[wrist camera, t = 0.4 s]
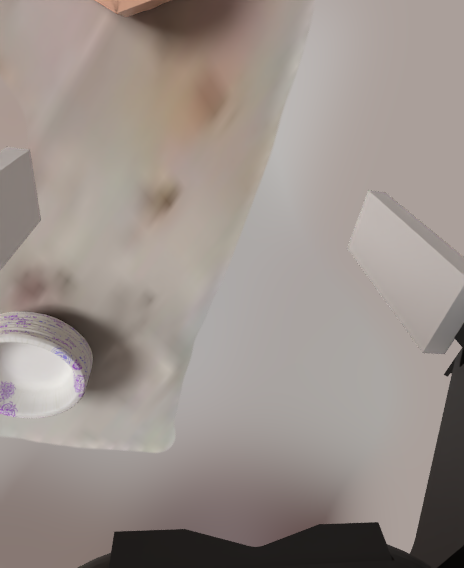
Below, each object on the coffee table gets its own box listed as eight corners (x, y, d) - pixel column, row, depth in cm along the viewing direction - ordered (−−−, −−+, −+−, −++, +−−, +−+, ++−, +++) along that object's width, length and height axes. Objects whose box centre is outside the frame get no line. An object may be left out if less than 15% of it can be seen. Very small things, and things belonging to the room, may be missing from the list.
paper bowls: (120, 349, 54) (110, 391, 47) (44, 389, 57) (25, 434, 51) (41, 277, 46) (16, 316, 40) (-42, 328, 50) (-78, 372, 43)
